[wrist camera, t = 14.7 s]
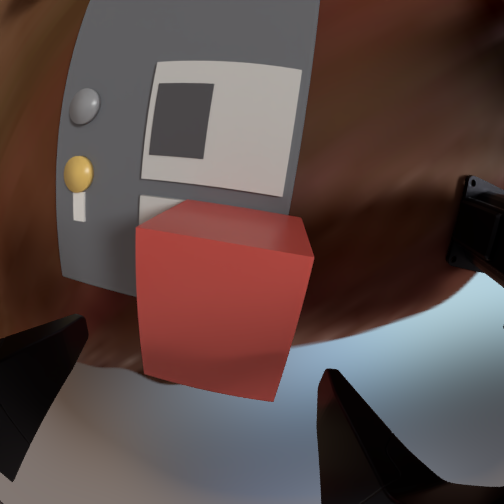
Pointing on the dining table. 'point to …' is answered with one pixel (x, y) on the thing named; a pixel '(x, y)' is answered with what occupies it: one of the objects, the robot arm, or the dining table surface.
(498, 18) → the dining table surface
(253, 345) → the cap
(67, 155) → the panel
